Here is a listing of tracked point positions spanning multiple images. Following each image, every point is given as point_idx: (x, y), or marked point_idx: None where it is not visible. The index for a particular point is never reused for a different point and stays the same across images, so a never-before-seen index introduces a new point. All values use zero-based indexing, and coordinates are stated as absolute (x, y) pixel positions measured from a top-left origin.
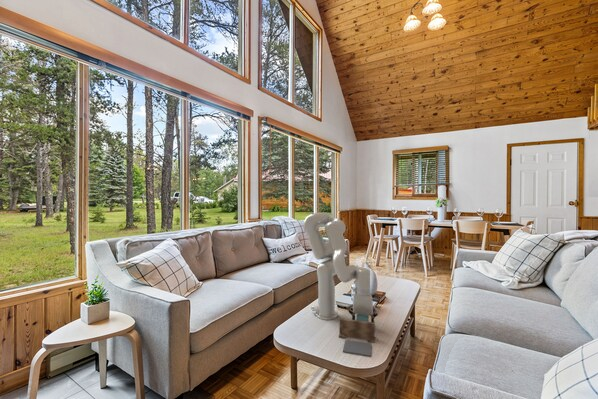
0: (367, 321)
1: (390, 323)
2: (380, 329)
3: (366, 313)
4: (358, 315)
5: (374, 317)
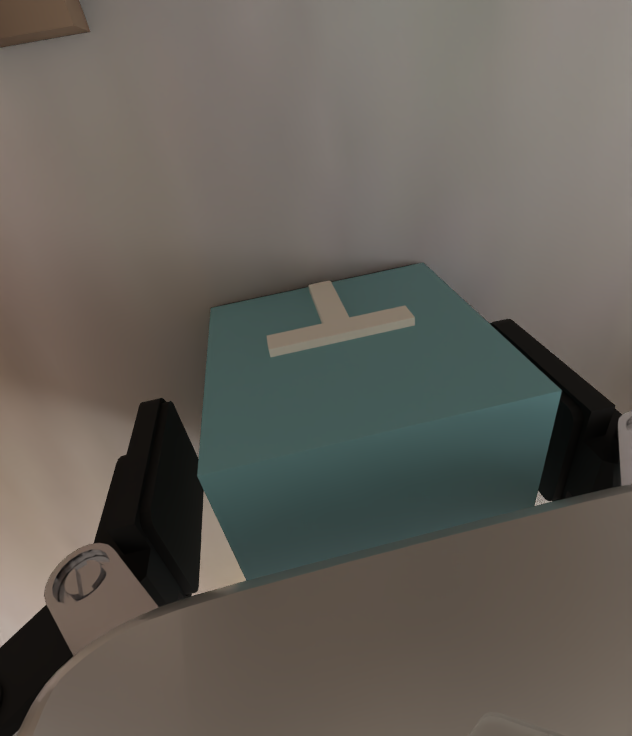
0: (221, 408)
1: (17, 606)
2: (36, 428)
3: (269, 642)
4: (496, 494)
5: (53, 597)
